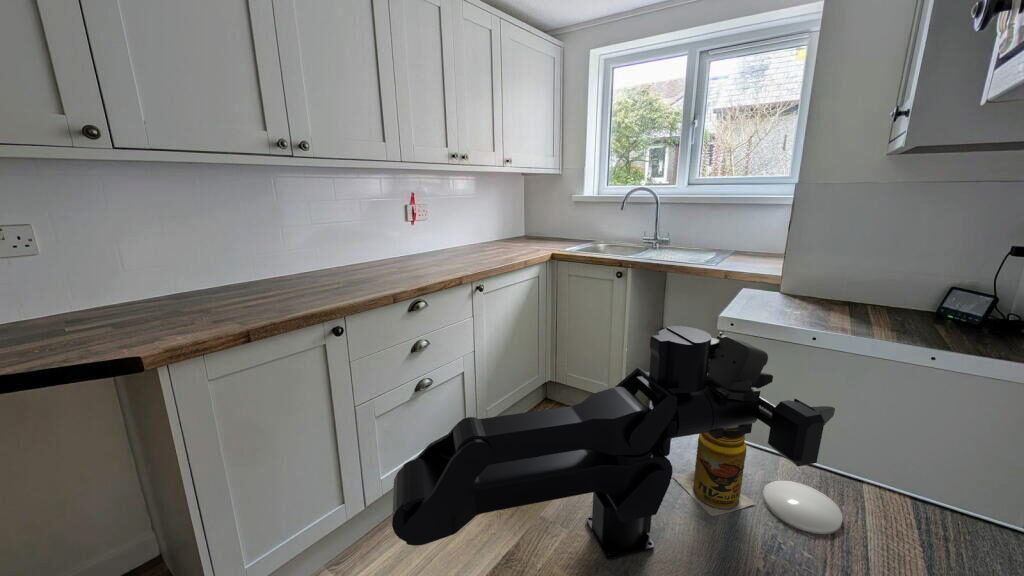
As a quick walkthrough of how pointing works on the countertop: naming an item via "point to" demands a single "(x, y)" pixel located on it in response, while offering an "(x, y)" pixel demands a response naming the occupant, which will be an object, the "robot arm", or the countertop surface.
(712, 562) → the countertop surface
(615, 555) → the robot arm
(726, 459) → the condiment
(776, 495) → the coaster
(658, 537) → the countertop surface
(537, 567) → the countertop surface
